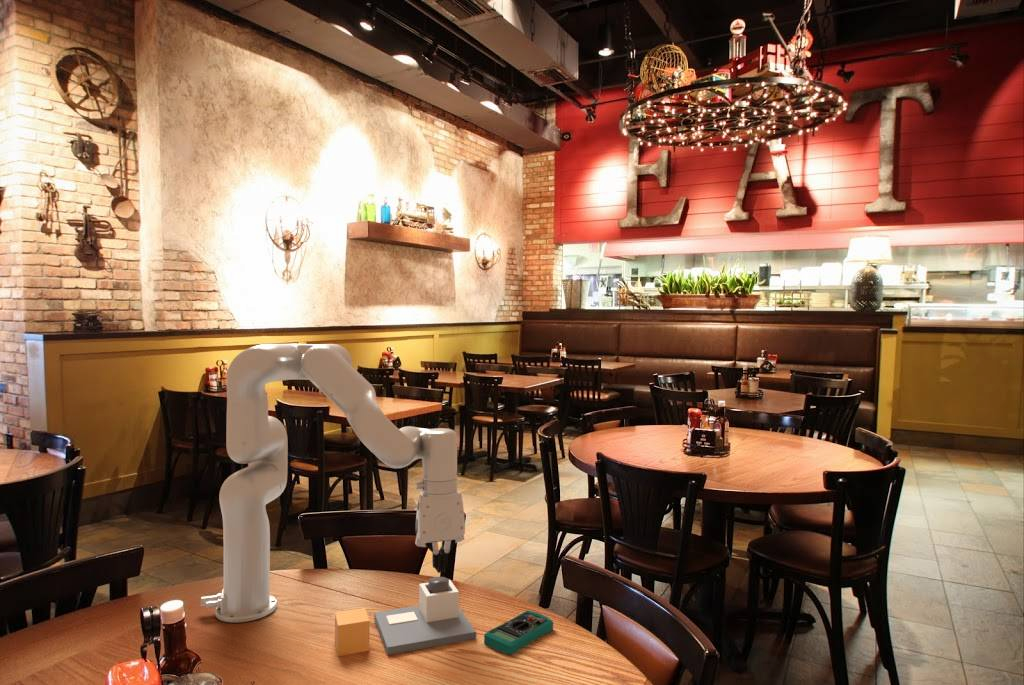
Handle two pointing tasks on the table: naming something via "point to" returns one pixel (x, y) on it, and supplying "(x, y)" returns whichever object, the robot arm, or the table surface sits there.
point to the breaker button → (438, 585)
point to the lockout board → (425, 622)
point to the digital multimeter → (518, 632)
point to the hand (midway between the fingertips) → (440, 570)
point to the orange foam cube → (351, 631)
